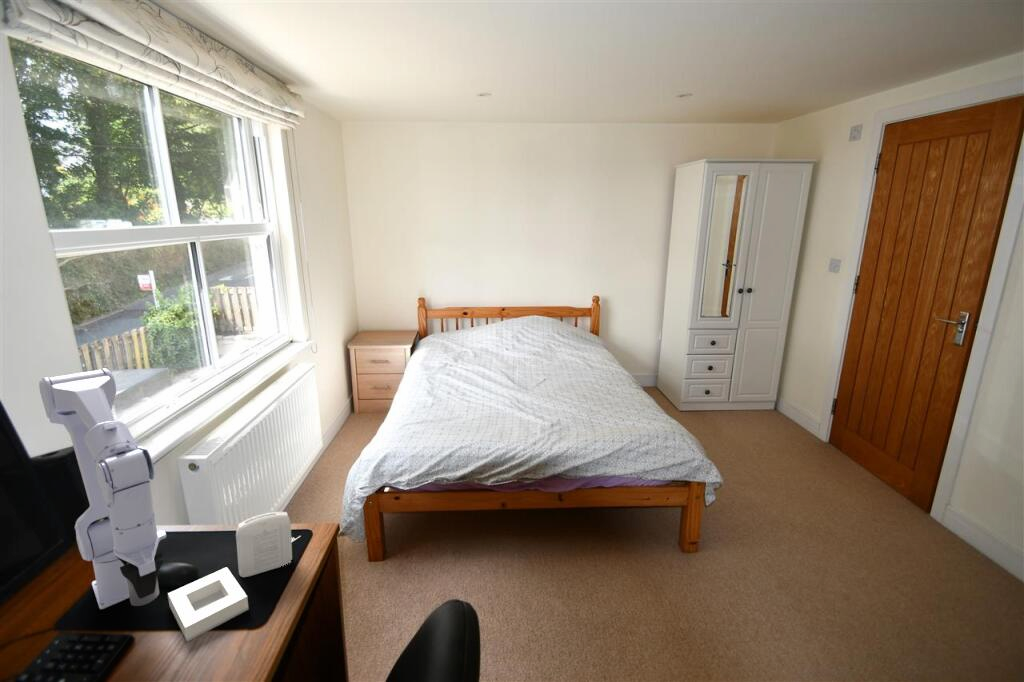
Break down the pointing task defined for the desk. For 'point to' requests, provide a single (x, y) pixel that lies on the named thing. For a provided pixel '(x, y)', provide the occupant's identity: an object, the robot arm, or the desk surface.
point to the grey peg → (137, 601)
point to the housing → (207, 603)
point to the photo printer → (263, 543)
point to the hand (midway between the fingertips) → (143, 587)
